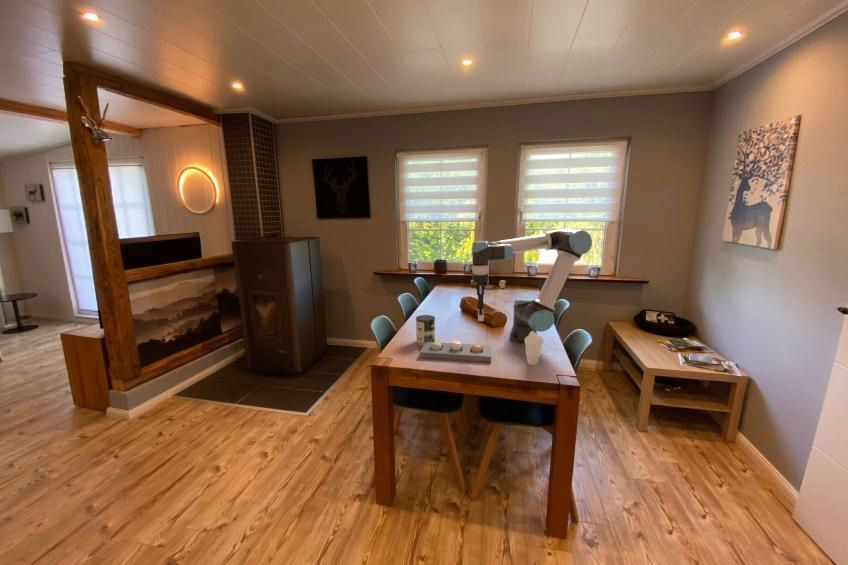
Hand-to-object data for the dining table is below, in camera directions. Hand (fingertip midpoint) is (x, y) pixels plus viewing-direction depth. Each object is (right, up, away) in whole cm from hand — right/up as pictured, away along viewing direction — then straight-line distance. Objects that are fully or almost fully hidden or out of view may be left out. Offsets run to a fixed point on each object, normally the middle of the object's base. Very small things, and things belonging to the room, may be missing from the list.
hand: (480, 320), depth 170 cm
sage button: (-22, -16, +3) cm, 27 cm away
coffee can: (-27, -14, +18) cm, 36 cm away
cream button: (-12, -15, +1) cm, 19 cm away
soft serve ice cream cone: (+23, -19, -9) cm, 31 cm away
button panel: (-12, -17, +2) cm, 21 cm away
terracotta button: (-2, -16, 0) cm, 17 cm away
